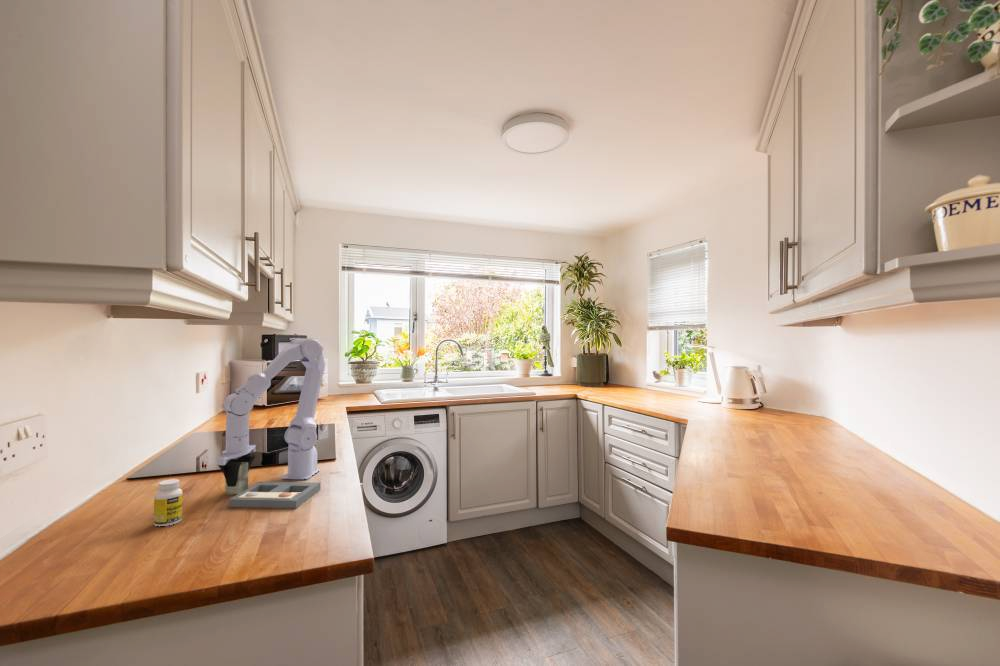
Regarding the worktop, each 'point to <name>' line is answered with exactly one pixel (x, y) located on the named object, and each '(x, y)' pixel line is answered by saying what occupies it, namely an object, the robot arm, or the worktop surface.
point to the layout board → (275, 495)
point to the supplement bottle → (168, 503)
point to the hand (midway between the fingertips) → (236, 483)
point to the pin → (239, 480)
